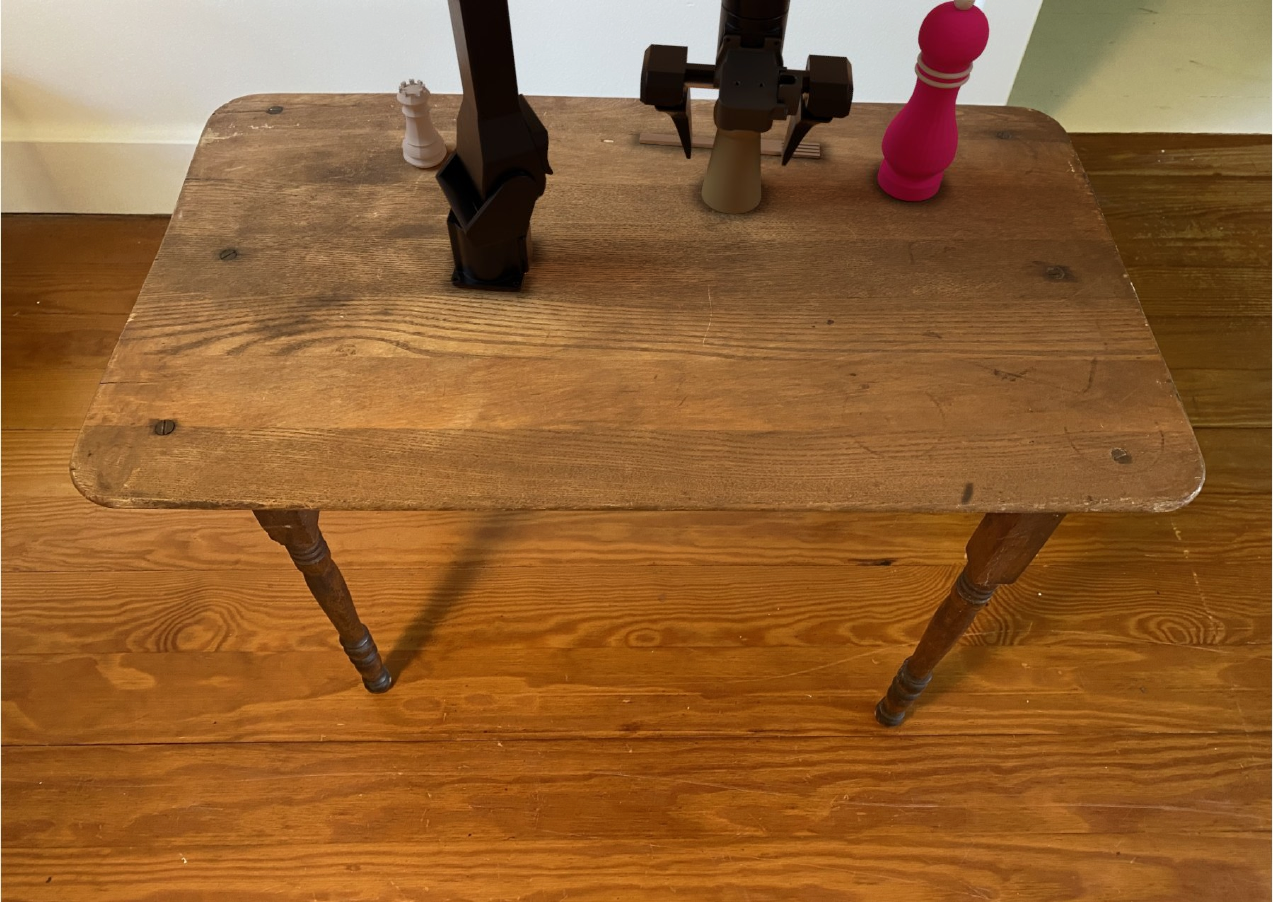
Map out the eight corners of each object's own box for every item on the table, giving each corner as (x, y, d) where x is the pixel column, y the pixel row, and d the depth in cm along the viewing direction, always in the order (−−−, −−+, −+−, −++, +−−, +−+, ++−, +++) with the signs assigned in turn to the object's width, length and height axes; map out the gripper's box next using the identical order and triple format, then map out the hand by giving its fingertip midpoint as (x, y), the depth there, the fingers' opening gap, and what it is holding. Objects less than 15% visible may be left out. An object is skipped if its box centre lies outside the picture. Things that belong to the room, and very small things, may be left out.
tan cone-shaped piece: (757, 218, 91) (772, 120, 82) (696, 209, 91) (705, 110, 82) (764, 180, 94) (780, 82, 85) (706, 171, 95) (715, 73, 86)
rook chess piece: (444, 170, 94) (431, 100, 87) (400, 169, 94) (384, 99, 87) (450, 144, 96) (438, 73, 90) (407, 143, 96) (392, 72, 90)
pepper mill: (953, 176, 95) (1022, -17, 79) (927, 214, 91) (994, 20, 75) (889, 152, 97) (943, -41, 81) (861, 188, 94) (911, -6, 77)
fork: (639, 146, 97) (639, 142, 97) (641, 133, 98) (641, 129, 98) (819, 159, 96) (820, 155, 96) (818, 146, 98) (819, 142, 97)
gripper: (635, 47, 72) (632, 206, 85) (873, 63, 72) (835, 221, 84) (647, -23, 79) (643, 134, 91) (865, -9, 78) (831, 147, 91)
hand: (736, 160), depth 89 cm, fingers open, 9 cm apart
